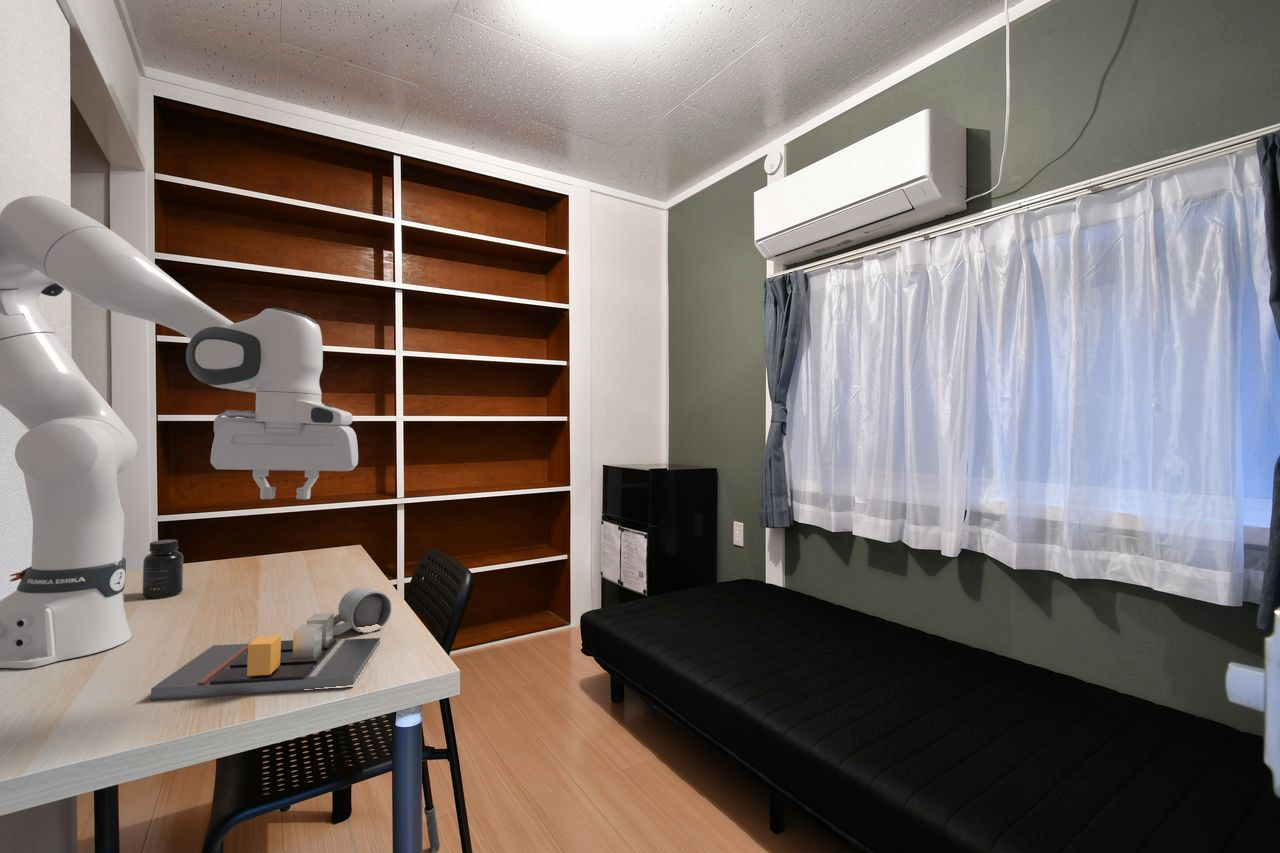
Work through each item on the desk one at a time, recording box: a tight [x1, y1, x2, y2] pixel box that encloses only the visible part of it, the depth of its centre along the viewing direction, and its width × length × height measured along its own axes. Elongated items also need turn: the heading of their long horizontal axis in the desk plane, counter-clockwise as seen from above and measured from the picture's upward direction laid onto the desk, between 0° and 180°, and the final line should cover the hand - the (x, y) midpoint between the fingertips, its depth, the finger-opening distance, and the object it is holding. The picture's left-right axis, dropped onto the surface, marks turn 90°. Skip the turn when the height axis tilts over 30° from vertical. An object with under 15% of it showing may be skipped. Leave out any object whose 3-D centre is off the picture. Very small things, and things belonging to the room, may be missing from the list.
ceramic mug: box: [333, 587, 392, 637], centre depth 107 cm, size 11×8×8 cm
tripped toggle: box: [247, 634, 282, 676], centre depth 83 cm, size 3×4×4 cm
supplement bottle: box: [142, 539, 184, 600], centre depth 124 cm, size 7×7×12 cm
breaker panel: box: [150, 612, 381, 701], centre depth 88 cm, size 26×16×6 cm, turn 102°
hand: (285, 498), depth 88 cm, fingers open, 4 cm apart
